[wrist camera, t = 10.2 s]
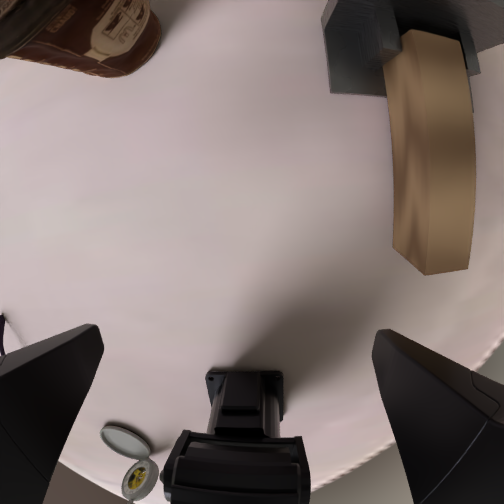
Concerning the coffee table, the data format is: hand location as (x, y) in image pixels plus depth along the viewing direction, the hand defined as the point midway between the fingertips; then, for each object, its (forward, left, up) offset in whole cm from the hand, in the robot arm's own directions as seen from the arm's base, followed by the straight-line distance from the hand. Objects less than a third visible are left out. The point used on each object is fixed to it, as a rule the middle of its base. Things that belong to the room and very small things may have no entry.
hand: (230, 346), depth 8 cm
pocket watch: (-25, +16, -12) cm, 32 cm away
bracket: (+13, -12, -12) cm, 21 cm away
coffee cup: (+16, +8, -12) cm, 21 cm away
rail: (+6, -12, -12) cm, 18 cm away
